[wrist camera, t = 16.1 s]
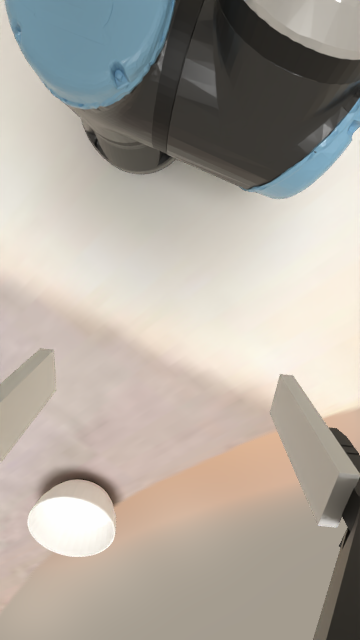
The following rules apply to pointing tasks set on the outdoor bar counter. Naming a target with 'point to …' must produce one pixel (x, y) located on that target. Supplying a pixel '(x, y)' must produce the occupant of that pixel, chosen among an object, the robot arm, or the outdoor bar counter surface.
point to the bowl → (74, 519)
